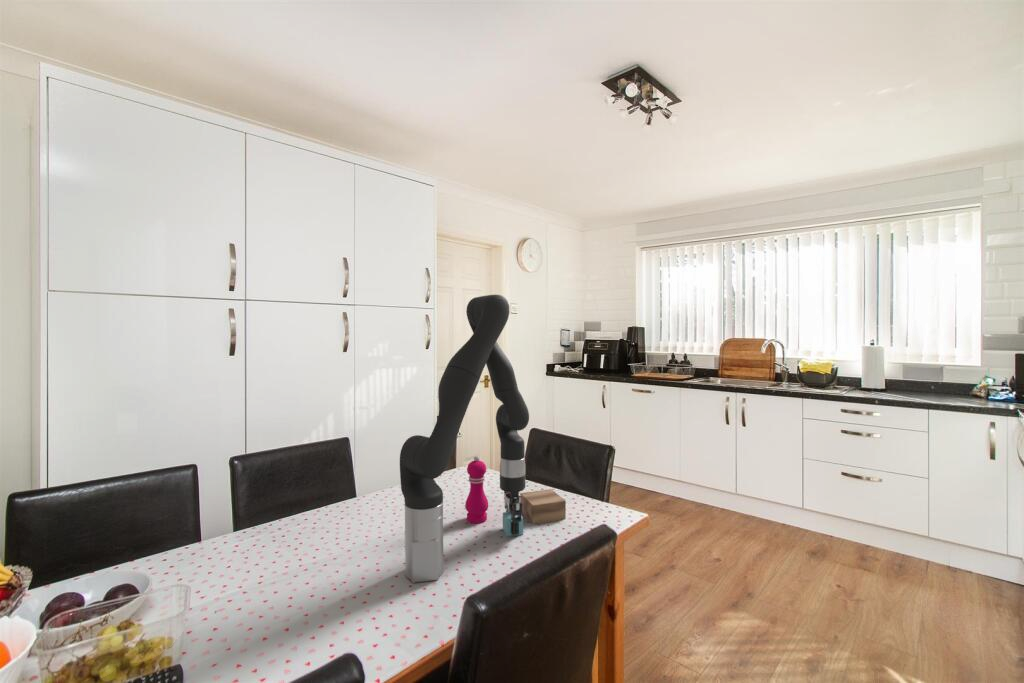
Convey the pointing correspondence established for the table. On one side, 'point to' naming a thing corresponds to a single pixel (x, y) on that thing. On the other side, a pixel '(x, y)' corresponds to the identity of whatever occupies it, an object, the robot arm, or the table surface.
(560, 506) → the walnut box
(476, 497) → the pepper mill
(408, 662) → the table surface
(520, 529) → the teal cube
